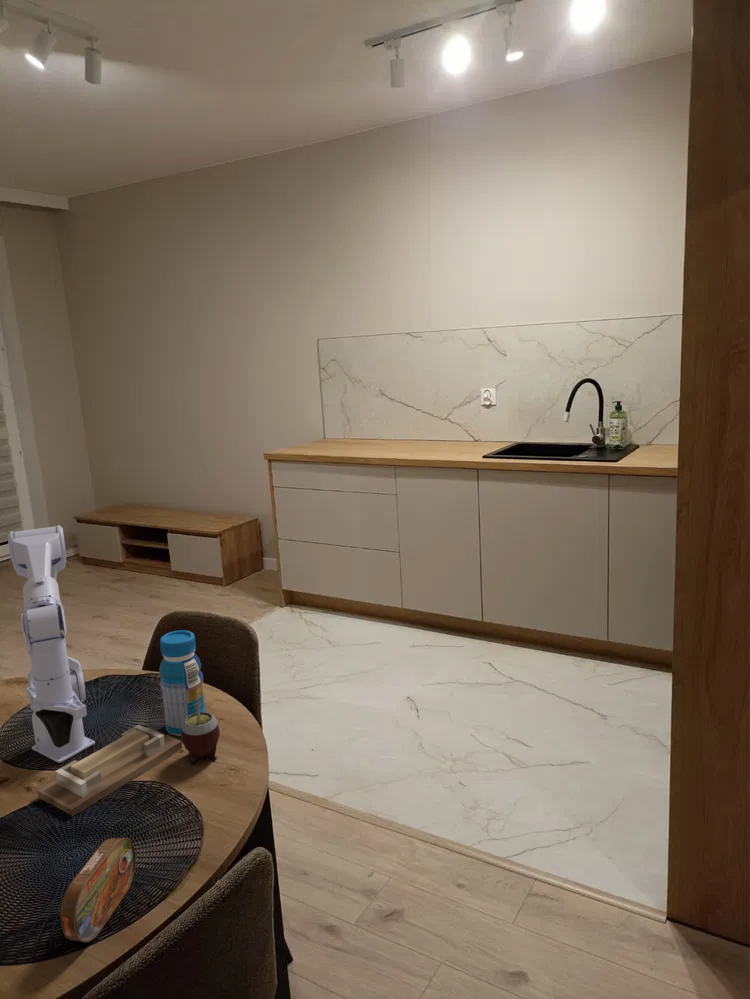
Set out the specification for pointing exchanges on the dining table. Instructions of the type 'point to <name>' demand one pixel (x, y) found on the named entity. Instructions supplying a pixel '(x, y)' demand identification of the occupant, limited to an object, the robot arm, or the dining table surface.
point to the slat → (112, 756)
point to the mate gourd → (200, 735)
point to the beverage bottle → (180, 679)
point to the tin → (98, 889)
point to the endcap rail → (83, 793)
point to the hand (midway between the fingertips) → (62, 744)
